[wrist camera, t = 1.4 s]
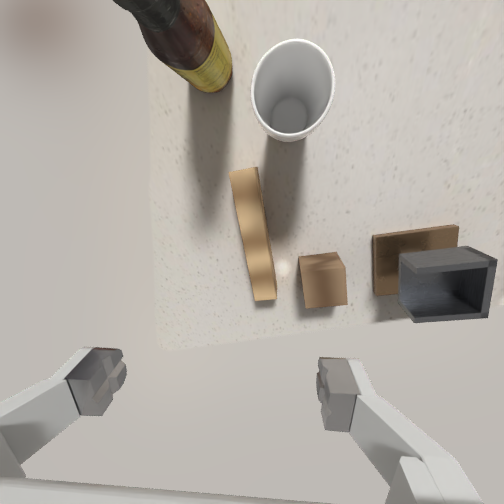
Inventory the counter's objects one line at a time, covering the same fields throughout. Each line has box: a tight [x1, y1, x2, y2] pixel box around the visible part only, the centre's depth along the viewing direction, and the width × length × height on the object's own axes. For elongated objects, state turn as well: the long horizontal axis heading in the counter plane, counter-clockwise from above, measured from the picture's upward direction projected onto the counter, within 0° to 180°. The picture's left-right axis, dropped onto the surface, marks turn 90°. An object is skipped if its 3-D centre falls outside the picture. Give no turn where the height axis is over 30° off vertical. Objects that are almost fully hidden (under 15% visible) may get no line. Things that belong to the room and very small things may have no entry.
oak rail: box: [229, 167, 277, 301], centre depth 37 cm, size 20×4×4 cm, turn 11°
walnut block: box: [299, 252, 348, 308], centre depth 37 cm, size 6×6×6 cm
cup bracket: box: [373, 224, 497, 323], centre depth 33 cm, size 11×10×10 cm
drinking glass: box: [250, 39, 335, 142], centre depth 26 cm, size 7×7×15 cm
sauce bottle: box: [113, 0, 232, 93], centre depth 22 cm, size 7×6×20 cm
